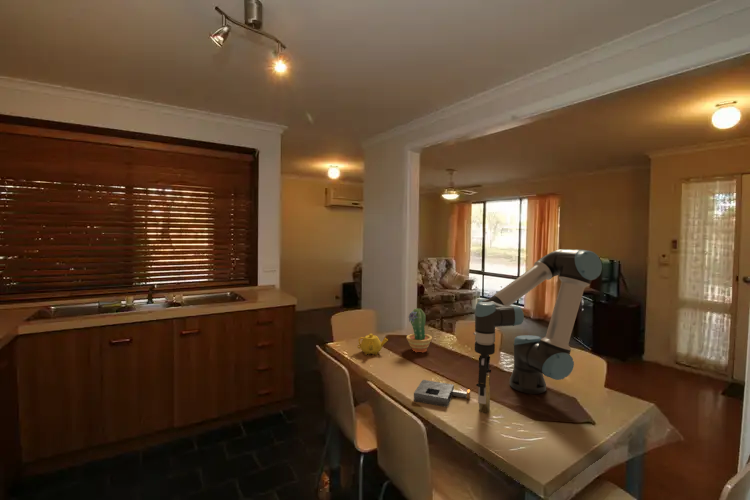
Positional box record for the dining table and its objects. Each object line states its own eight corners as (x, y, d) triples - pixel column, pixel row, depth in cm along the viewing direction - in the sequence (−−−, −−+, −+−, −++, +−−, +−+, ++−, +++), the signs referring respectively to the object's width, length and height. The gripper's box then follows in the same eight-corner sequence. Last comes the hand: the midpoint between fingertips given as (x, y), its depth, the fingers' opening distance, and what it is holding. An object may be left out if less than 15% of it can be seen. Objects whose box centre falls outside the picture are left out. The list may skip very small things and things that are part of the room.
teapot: (371, 359, 194) (370, 339, 194) (355, 353, 204) (354, 334, 203) (388, 352, 204) (388, 334, 204) (372, 347, 214) (372, 329, 213)
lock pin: (470, 396, 148) (470, 389, 148) (469, 399, 146) (469, 392, 146) (439, 391, 154) (439, 384, 153) (437, 394, 151) (437, 387, 151)
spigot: (490, 408, 138) (490, 374, 137) (489, 413, 134) (489, 378, 134) (479, 407, 140) (479, 372, 139) (478, 411, 136) (478, 376, 135)
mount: (453, 392, 153) (453, 384, 152) (447, 407, 140) (447, 398, 140) (422, 387, 158) (422, 379, 158) (413, 401, 145) (413, 392, 145)
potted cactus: (404, 346, 215) (403, 306, 214) (428, 345, 217) (428, 305, 215) (409, 355, 200) (409, 312, 198) (435, 353, 201) (435, 311, 200)
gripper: (478, 332, 149) (477, 381, 150) (470, 350, 126) (469, 408, 127) (496, 334, 146) (496, 384, 147) (492, 353, 123) (491, 412, 124)
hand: (483, 395), depth 137 cm, fingers open, 13 cm apart
